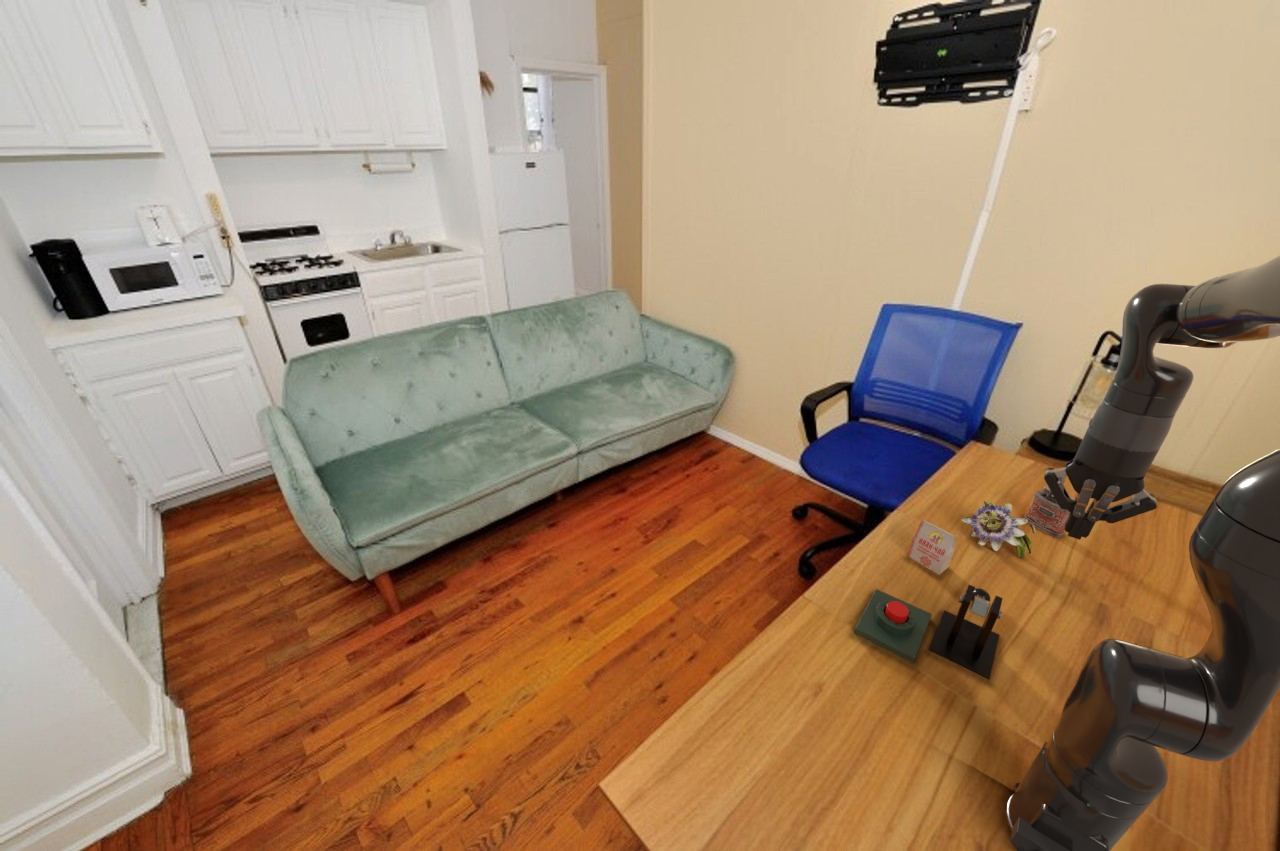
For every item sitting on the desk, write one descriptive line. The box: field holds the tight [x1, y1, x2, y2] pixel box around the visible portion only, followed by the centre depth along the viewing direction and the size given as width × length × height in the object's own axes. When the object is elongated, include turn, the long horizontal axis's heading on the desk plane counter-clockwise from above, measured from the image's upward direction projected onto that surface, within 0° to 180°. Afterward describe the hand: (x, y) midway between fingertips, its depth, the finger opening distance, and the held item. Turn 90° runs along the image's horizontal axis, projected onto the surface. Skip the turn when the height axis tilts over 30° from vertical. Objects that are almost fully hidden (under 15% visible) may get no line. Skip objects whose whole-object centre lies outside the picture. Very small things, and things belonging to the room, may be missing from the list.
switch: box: [969, 587, 991, 619], centre depth 89 cm, size 13×3×3 cm, turn 141°
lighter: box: [1023, 485, 1076, 538], centre depth 115 cm, size 8×3×10 cm, turn 25°
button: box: [885, 601, 909, 623], centre depth 91 cm, size 4×4×2 cm
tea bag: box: [907, 519, 957, 576], centre depth 105 cm, size 4×7×10 cm, turn 35°
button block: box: [853, 588, 932, 664], centre depth 92 cm, size 12×10×4 cm
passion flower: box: [960, 500, 1037, 559], centre depth 112 cm, size 11×11×12 cm
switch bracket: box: [929, 584, 1003, 680], centre depth 87 cm, size 11×9×12 cm
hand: (1074, 535), depth 76 cm, fingers closed
